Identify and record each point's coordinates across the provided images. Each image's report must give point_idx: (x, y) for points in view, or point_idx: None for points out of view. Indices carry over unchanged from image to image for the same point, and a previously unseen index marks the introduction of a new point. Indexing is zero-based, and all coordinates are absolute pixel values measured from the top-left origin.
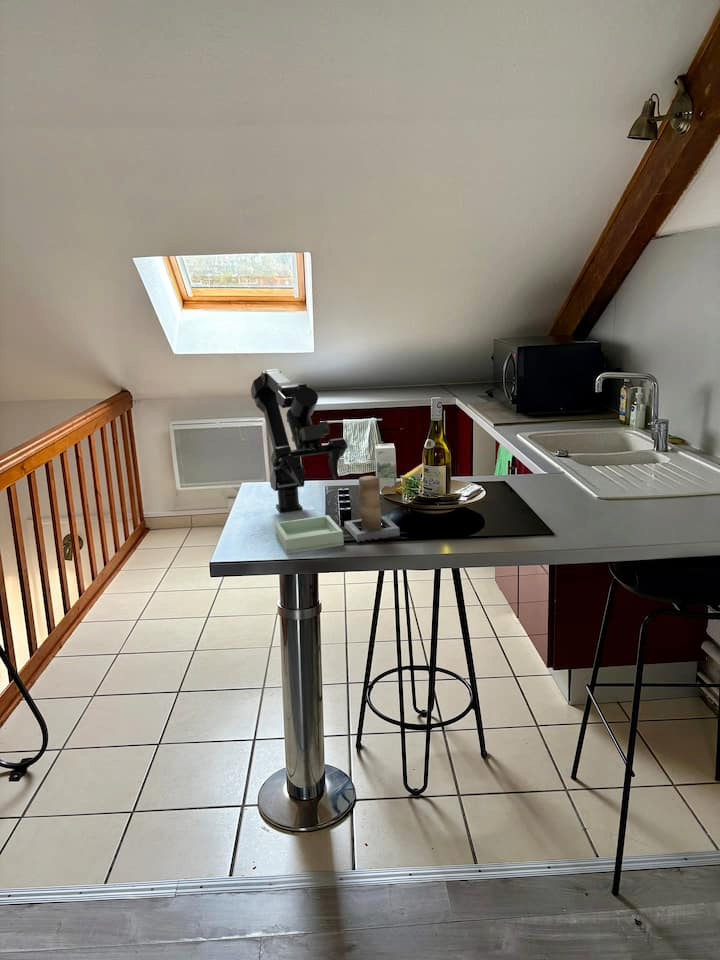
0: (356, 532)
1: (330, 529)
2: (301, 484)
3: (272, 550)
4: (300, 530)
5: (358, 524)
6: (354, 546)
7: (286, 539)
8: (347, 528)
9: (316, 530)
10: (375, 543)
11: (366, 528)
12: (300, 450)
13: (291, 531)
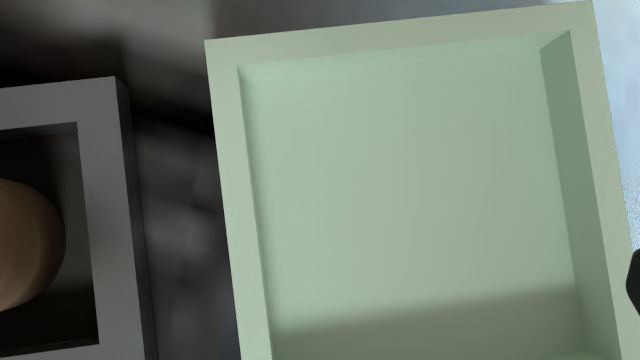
0: (107, 115)
1: (264, 276)
2: (634, 255)
3: (623, 114)
4: (455, 355)
5: (56, 346)
6: (157, 26)
7: (585, 5)
8: (145, 298)
9: (353, 321)
10: (23, 35)
11: (23, 190)
12: None
13: (513, 352)
